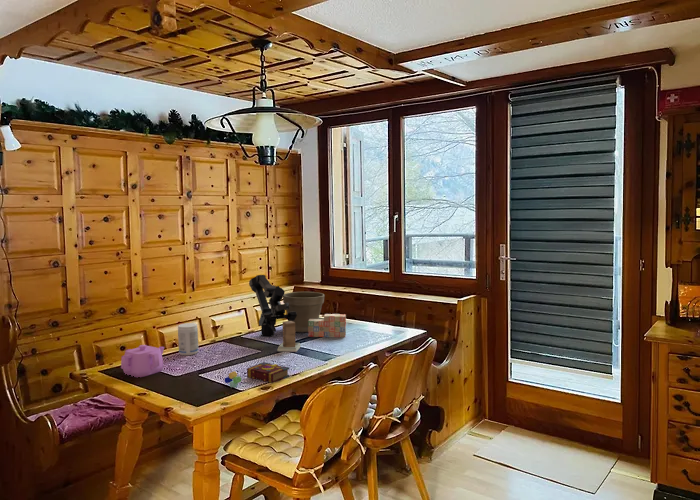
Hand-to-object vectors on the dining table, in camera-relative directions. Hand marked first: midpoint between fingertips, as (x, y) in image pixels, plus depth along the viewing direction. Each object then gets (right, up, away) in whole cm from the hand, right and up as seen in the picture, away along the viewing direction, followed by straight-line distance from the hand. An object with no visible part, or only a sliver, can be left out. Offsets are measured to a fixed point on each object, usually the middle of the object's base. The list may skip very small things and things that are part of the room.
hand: (283, 330), depth 289 cm
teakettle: (-58, -12, -44) cm, 74 cm away
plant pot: (+8, -5, +37) cm, 39 cm away
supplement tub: (-47, -10, -14) cm, 50 cm away
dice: (-13, -14, -64) cm, 67 cm away
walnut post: (+4, -7, -6) cm, 10 cm away
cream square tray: (+4, -9, -6) cm, 11 cm away
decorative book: (-1, -13, -52) cm, 54 cm away
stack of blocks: (+22, -7, +22) cm, 33 cm away
